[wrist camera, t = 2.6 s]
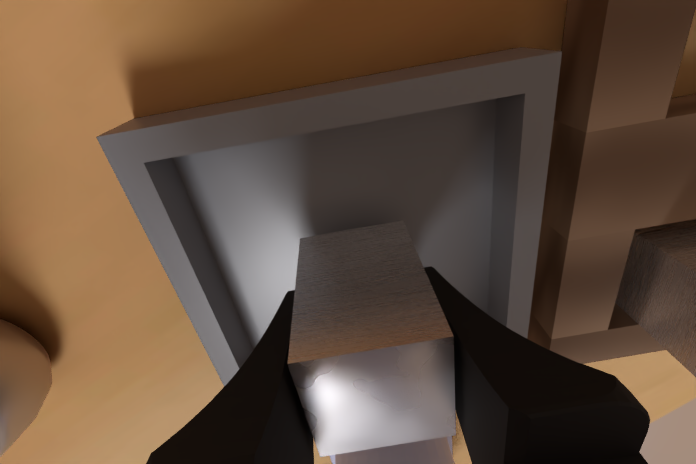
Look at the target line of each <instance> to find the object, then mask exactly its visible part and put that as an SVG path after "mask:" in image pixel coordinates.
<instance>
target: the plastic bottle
mask: <svg viewBox="0 0 696 464" xmlns="http://www.w3.org/2000/svg"><path fill="white" fill-rule="evenodd" d="M51 384H52V373H51V362H50V359H49V356H48V354H47V352H46V351H45V349H44V347H43V346H42V345H41V344H40V343H39V342H38V341H37V340H36V339H35V338H34V337H32V336H31V335H30V334H28V333H27V332H26V331H24V330H22V329H21V328H19V327H17V326H16V325H13V324H11V323H9V322H7V321H4V320H2V319H0V457H1V456H2V455H3V454H4V453H5V452H6V451H7V450H8V449H9V448H10V446H11V445H12V444H13V443H14V442H15V441H16V440H17V439H18V437H19V436H20V435H21V434H22V433H23V432H24V431H25V430H26V429H27V427H28V426H29V425H30V424H31V423H32V422H33V421H34V419H35V418H36V417H37V415H38V413H39V410H40V408H41V406H42V404H43V402H44V400H45V398H46V396H47V394H48V392H49V390H50V387H51Z"/></svg>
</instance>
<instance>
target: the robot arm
mask: <svg viewBox="0 0 696 464" xmlns="http://www.w3.org/2000/svg"><path fill="white" fill-rule="evenodd" d="M424 269H425V272H426V274H427V276H428V278H429V281H430V283H431V285H432V288H433V290H434V292H435V295H436V297H437V299H438V301H439V304H440V306H441V308H442V311H443V313H444V315H445V317H446V320H447V322H448V324H449V327H450V329H451V331H452V334H453V336H454V370H455V410H456V413H457V416H458V419H459V422H460V425H461V429H462V432H463V435H464V438H465V442H466V445H467V448H468V451H469V455H470V458H471V461H472V464H648V463H647V462H646V460H645V459H644V458H643V457H642V455H641V454H640V453H639V451H640V449H641V446H642V444H643V442H644V439H645V437H646V434H647V432H648V428H649V423H650V418H649V415H648V412H647V411H646V410H645V408H644V407H643V406H642V405H641V404H640V403H639V401H638V400H637V399H636V398H635V397H634V395H633V394H632V393H631V392H630V391H629V390H628V389H627V388H626V387H625V386H624V385H623V384H622V383H621V382H620V381H619V380H618V379H617V378H616V377H615V376H614V375H611V374H608V373H605V372H603V371H600V370H597V369H594V368H592V367H589V366H586V365H584V364H581V363H578V362H576V361H573V360H571V359H569V358H566V357H564V356H562V355H559V354H557V353H555V352H553V351H551V350H548V349H546V348H544V347H542V346H540V345H538V344H536V343H534V342H532V341H531V340H529V339H527V338H525V337H523V336H521V335H519V334H518V333H516V332H514V331H512V330H511V329H509V328H507V327H506V326H504V325H503V324H501V323H500V322H498V321H497V320H495V319H494V318H492V317H491V316H489V315H488V314H487V313H485V312H484V311H483V310H481V309H480V308H478V307H477V306H476V305H475V304H473V303H472V302H471V301H470V300H468V299H467V298H466V297H465V296H464V295H463V294H461V293H460V292H459V291H458V290H457V289H456V288H454V287H453V286H452V285H451V284H450V283H449V282H448V281H447V280H446V279H445V278H444V277H443V276H442V275H441V274H440V273H439V272H438V271H437V270H436V269H435V268H433V267H432V266H430V267H424ZM294 294H295V290H292V291H288V292H287V293H286V295H285V297H284V299H283V301H282V302H281V304H280V306H279V308H278V310H277V312H276V314H275V316H274V317H273V319H272V321H271V323H270V324H269V326H268V328H267V329H266V331H265V333H264V334H263V336H262V338H261V339H260V341H259V342H258V344H257V345H256V347H255V348H254V350H253V351H252V353H251V354H250V356H249V357H248V358H247V360H246V361H245V362H244V364H243V365H242V366H241V368H240V369H239V370H238V371H237V373H236V374H235V375H234V376H233V378H232V379H231V380H230V381H229V382H228V383H227V384H226V385H225V387H224V388H223V389H222V390H221V391H220V392H219V393H218V394H217V395H216V396H215V397H214V399H213V400H212V401H211V402H210V403H209V404H208V405H207V406H206V407H205V408H203V409H202V410H201V411H200V412H199V413H198V414H197V415H196V416H195V417H194V418H193V419H192V420H191V421H190V422H189V423H187V424H186V425H185V426H184V427H183V428H182V429H181V430H179V431H178V432H177V433H176V434H174V435H173V436H172V437H171V438H170V439H168V440H167V441H166V442H165V443H164V444H162V445H161V446H160V447H159V448H157V449H156V450H155V451H154V452H152V453H151V455H150V457H149V459H148V461H147V463H146V464H314V453H313V435H312V432H311V429H310V426H309V423H308V421H307V418H306V415H305V412H304V409H303V407H302V404H301V401H300V398H299V395H298V392H297V390H296V387H295V384H294V381H293V378H292V375H291V373H290V370H289V367H288V354H289V344H290V334H291V324H292V314H293V304H294ZM330 458H331V461H332V464H455V462H454V459H453V451H452V436H448V437H442V438H436V439H429V440H423V441H417V442H411V443H404V444H398V445H392V446H386V447H379V448H373V449H367V450H361V451H354V452H348V453H342V454H336V455H330Z"/></svg>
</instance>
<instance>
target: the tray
mask: <svg viewBox="0 0 696 464" xmlns="http://www.w3.org/2000/svg"><path fill="white" fill-rule="evenodd" d="M561 57H562V51H554V50H543V49H533V48H523V47H519V48H514V49H509V50H503V51H498V52H492V53H487V54H482V55H476V56H471V57H465V58H460V59H454V60H449V61H444V62H438V63H433V64H427V65H422V66H416V67H411V68H406V69H400V70H395V71H389V72H384V73H379V74H373V75H368V76H362V77H357V78H351V79H346V80H341V81H335V82H330V83H324V84H319V85H313V86H308V87H303V88H297V89H292V90H286V91H281V92H276V93H270V94H265V95H259V96H254V97H248V98H243V99H238V100H232V101H227V102H221V103H216V104H211V105H205V106H200V107H194V108H189V109H183V110H178V111H173V112H167V113H162V114H156V115H151V116H145V117H140V118H135V119H132V120H130V121H128V122H126V123H124V124H122V125H120V126H118V127H116V128H114V129H112V130H110V131H107V132H105V133H103V134H101V135H99V136H97V139H98V141H99V143H100V145H101V147H102V149H103V151H104V153H105V155H106V157H107V159H108V161H109V163H110V165H111V167H112V169H113V171H114V172H115V174H116V176H117V178H118V180H119V182H120V184H121V186H122V188H123V190H124V192H125V194H126V196H127V198H128V200H129V202H130V204H131V206H132V208H133V209H134V211H135V213H136V215H137V217H138V219H139V221H140V223H141V225H142V227H143V229H144V231H145V233H146V235H147V237H148V239H149V241H150V243H151V244H152V246H153V248H154V250H155V252H156V254H157V256H158V258H159V260H160V262H161V264H162V266H163V268H164V270H165V272H166V274H167V276H168V278H169V280H170V281H171V283H172V285H173V287H174V289H175V291H176V293H177V295H178V297H179V299H180V301H181V303H182V305H183V307H184V309H185V311H186V313H187V315H188V316H189V318H190V320H191V322H192V324H193V326H194V328H195V330H196V332H197V334H198V336H199V338H200V340H201V342H202V344H203V346H204V348H205V350H206V352H207V353H208V355H209V357H210V359H211V361H212V363H213V365H214V367H215V369H216V371H217V373H218V375H219V377H220V379H221V381H222V383H223V385H224V387H225V385H226V384H227V383H228V382H229V381H230V380H231V379H232V378H233V376H234V375H235V374H236V373H237V371H238V370H239V369H240V368H241V366H242V365H243V364H244V362H245V361H246V360H247V358H248V357H249V356H250V354H251V353H252V351H253V350H254V348H255V347H256V345H257V344H258V342H259V341H260V339H261V338H262V336H263V334H264V333H265V331H266V329H267V328H268V326H269V324H270V323H271V321H272V319H273V317H274V316H275V314H276V312H277V310H278V308H279V306H280V304H281V302H282V301H283V299H284V297H285V295H286V293H287V292H288V291H292V290H295V284H296V274H297V264H298V254H299V244H300V238H305V237H310V236H316V235H322V234H328V233H334V232H339V231H345V230H351V229H357V228H362V227H368V226H374V225H380V224H386V223H391V222H397V221H404V223H405V226H406V228H407V230H408V233H409V235H410V237H411V240H412V242H413V244H414V246H415V249H416V251H417V253H418V256H419V258H420V260H421V262H422V265H423V267H430V266H432V267H433V268H435V269H436V270H437V271H438V272H439V273H440V274H441V275H442V276H443V277H444V278H445V279H446V280H447V281H448V282H449V283H450V284H451V285H452V286H453V287H454V288H456V289H457V290H458V291H459V292H460V293H461V294H463V295H464V296H465V297H466V298H467V299H468V300H470V301H471V302H472V303H473V304H475V305H476V306H477V307H478V308H480V309H481V310H483V311H484V312H485V313H487V314H488V315H489V316H491V317H492V318H494V319H495V320H497V321H498V322H500V323H501V324H503V325H504V326H506V327H507V328H509V329H511V330H512V331H514V332H516V333H518V334H519V335H521V336H523V337H525V338H527V336H528V328H529V320H530V312H531V303H532V295H533V287H534V279H535V271H536V262H537V254H538V246H539V238H540V230H541V221H542V213H543V205H544V197H545V188H546V180H547V172H548V164H549V156H550V147H551V139H552V131H553V123H554V115H555V106H556V98H557V90H558V82H559V73H560V65H561Z"/></svg>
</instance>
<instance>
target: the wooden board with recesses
mask: <svg viewBox="0 0 696 464" xmlns="http://www.w3.org/2000/svg"><path fill="white" fill-rule="evenodd" d="M695 9H696V0H568V3H567V11H566V19H565V28H564V36H563V44H562V57H561V65H560V73H559V82H558V90H557V98H556V106H555V115H554V123H553V131H552V139H551V147H550V156H549V164H548V172H547V180H546V188H545V197H544V205H543V213H542V221H541V230H540V238H539V246H538V254H537V262H536V271H535V279H534V287H533V295H532V303H531V312H530V320H529V328H528V336H527V339H529V340H531V341H532V342H534V343H536V344H538V345H540V346H542V347H544V348H546V349H548V350H551V351H553V352H555V353H557V354H559V355H562V356H564V357H566V358H569V359H571V360H573V361H576V362H578V363H581V364H584V363H590V362H596V361H602V360H608V359H614V358H620V357H626V356H632V355H638V354H644V353H650V352H656V351H662V350H666V349H665V348H664V347H663V346H662V345H660V344H659V343H658V342H657V341H656V340H655V339H654V338H653V337H652V336H651V335H650V334H649V333H648V332H646V331H645V330H644V329H643V328H642V327H641V326H640V325H639V324H638V323H637V322H636V321H635V320H633V319H632V318H631V317H630V316H629V315H628V314H627V313H626V312H625V311H624V310H623V309H622V308H621V307H619V306H618V305H617V304H616V303H615V301H616V298H617V294H618V290H619V287H620V283H621V279H622V276H623V272H624V268H625V265H626V261H627V257H628V254H629V250H630V246H631V243H632V239H633V235H634V232H635V229H640V228H646V227H652V226H657V225H663V224H669V223H675V222H680V221H686V220H692V219H696V94H693V95H688V96H682V97H677V98H671V96H672V93H673V89H674V85H675V82H676V78H677V74H678V71H679V67H680V63H681V60H682V56H683V52H684V49H685V45H686V41H687V38H688V34H689V30H690V27H691V23H692V20H693V16H694V12H695Z"/></svg>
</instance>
